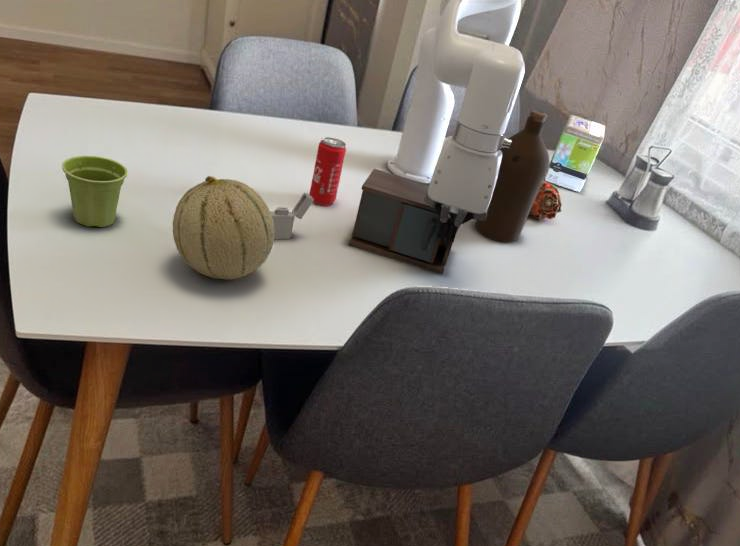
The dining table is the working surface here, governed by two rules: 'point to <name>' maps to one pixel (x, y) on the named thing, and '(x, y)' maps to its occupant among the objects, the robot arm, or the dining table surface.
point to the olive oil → (517, 182)
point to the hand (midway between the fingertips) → (444, 243)
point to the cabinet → (392, 217)
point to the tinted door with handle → (416, 233)
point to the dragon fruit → (546, 202)
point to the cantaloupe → (223, 228)
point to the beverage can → (327, 171)
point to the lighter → (289, 217)
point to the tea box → (575, 153)
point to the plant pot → (94, 188)
